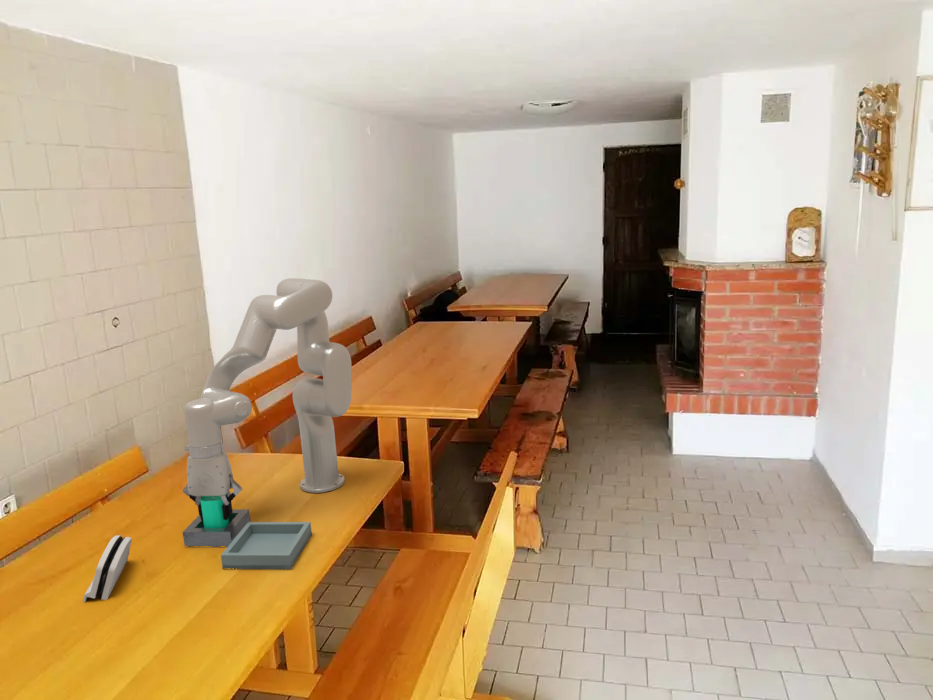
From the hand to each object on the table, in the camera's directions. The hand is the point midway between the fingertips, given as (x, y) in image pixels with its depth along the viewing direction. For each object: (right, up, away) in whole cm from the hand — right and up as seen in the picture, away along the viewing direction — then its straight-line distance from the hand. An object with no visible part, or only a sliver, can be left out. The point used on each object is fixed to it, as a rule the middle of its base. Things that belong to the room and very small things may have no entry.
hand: (216, 516), depth 178 cm
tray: (+15, -6, -8) cm, 19 cm away
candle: (0, -5, +1) cm, 5 cm away
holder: (0, -5, +1) cm, 5 cm away
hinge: (-17, -11, -17) cm, 27 cm away
